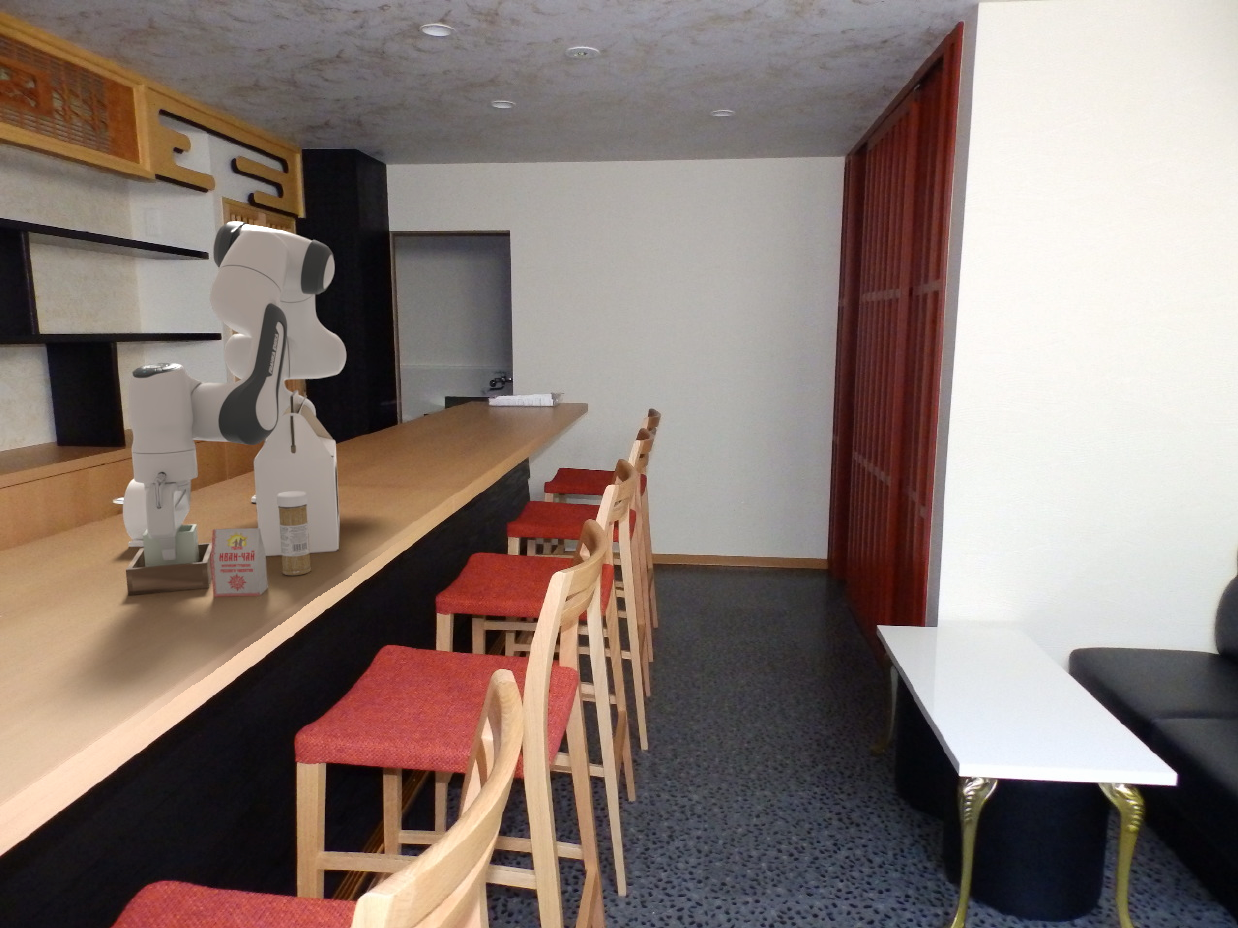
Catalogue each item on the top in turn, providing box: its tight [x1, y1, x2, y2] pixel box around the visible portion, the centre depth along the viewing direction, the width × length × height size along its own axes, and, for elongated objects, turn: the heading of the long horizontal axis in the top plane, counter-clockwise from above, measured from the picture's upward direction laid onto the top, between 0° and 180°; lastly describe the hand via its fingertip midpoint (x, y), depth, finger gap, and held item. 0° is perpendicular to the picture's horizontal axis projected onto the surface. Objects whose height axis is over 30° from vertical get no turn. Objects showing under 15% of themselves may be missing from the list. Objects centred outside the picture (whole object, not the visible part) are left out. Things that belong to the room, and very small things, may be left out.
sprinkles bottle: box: [277, 491, 312, 576], centre depth 137 cm, size 5×5×13 cm
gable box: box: [253, 389, 341, 557], centre depth 158 cm, size 22×13×28 cm, turn 18°
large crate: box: [125, 542, 212, 596], centre depth 134 cm, size 13×11×4 cm
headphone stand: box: [122, 478, 147, 548], centre depth 155 cm, size 5×6×12 cm
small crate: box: [143, 523, 200, 567], centre depth 133 cm, size 7×6×6 cm
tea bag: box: [211, 527, 268, 598], centre depth 128 cm, size 4×7×10 cm, turn 96°
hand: (173, 553), depth 134 cm, fingers closed on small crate, 5 cm apart
